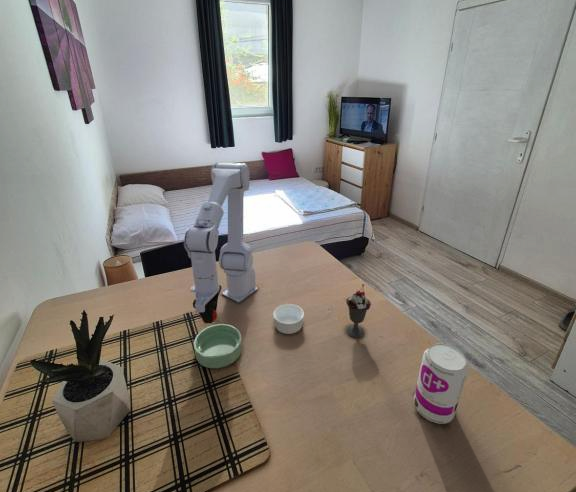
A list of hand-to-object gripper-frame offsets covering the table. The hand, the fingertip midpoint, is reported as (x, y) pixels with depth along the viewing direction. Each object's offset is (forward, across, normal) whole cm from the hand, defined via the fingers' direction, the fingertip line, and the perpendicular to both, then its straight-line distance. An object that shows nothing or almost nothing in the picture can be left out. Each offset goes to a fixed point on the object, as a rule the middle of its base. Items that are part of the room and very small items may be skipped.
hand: (210, 317), depth 85 cm
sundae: (+9, -5, +40) cm, 41 cm away
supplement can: (+9, +19, +53) cm, 56 cm away
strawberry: (+1, 0, 0) cm, 1 cm away
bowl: (+8, +3, +2) cm, 9 cm away
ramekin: (+9, -7, +21) cm, 23 cm away
